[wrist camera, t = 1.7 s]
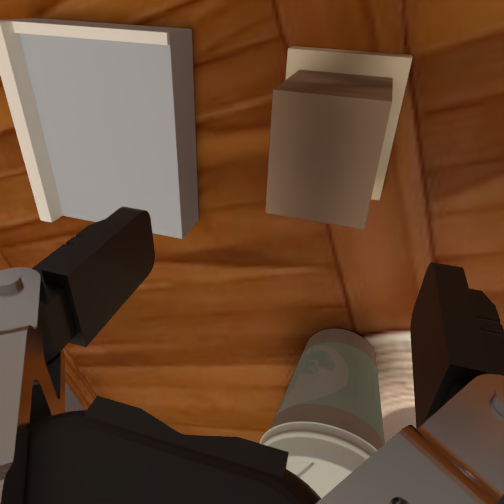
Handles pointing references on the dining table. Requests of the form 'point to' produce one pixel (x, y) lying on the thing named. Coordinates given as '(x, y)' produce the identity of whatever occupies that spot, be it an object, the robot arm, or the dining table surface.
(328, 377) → the coffee cup
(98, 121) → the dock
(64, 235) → the dining table surface
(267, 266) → the dining table surface
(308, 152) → the two-tone stepped block
